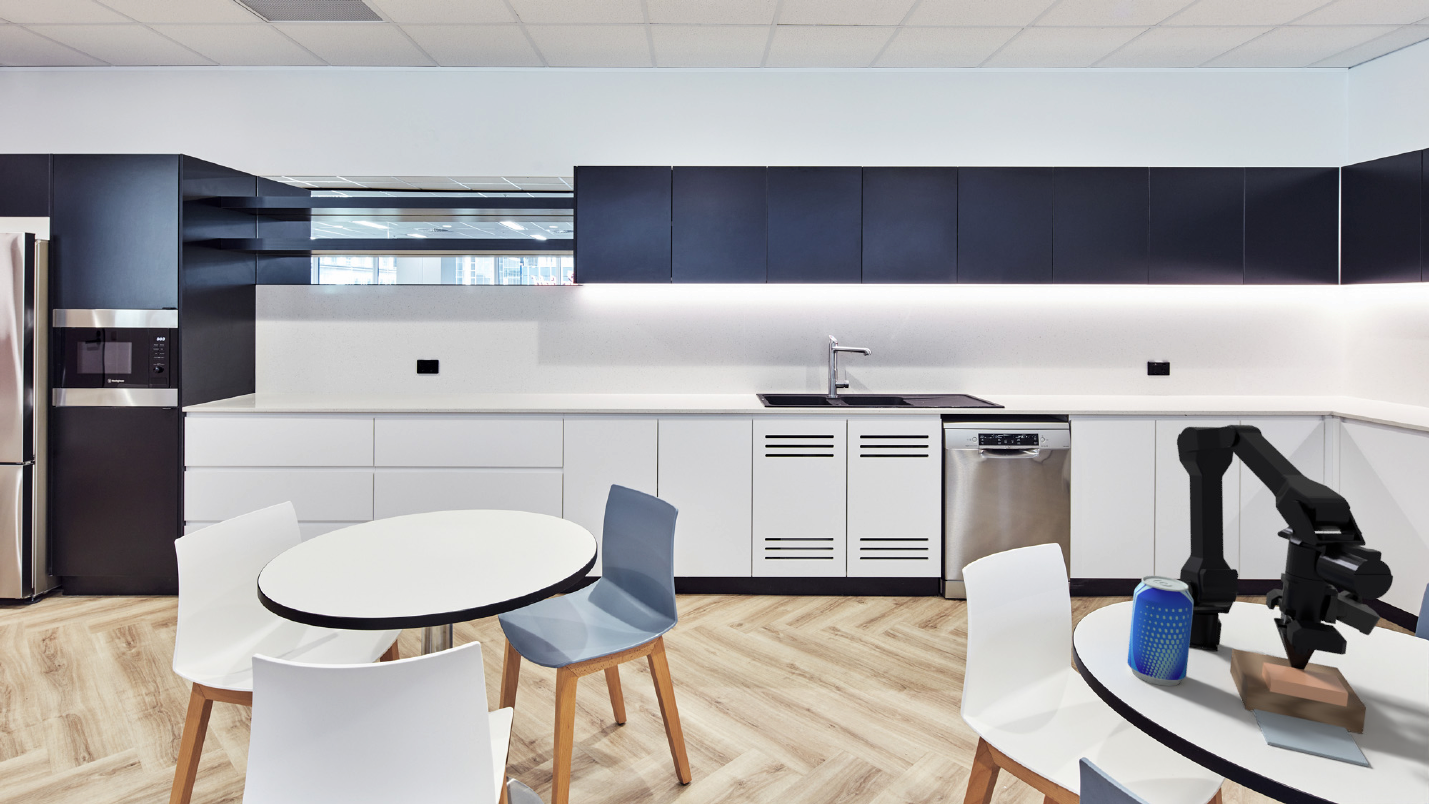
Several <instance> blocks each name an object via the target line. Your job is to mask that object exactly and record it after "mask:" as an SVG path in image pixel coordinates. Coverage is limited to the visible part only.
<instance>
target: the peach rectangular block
mask: <svg viewBox="0 0 1429 804" xmlns="http://www.w3.org/2000/svg"><path fill="white" fill-rule="evenodd" d="M1262 676H1263V678H1264V680H1265V682H1266V684H1267V686H1268V688H1269V690H1270V692H1275V693H1281V694H1286V695H1291V696H1296V697H1301V698H1306V699H1311V700H1316V701H1321V702H1326V703H1331V704H1336V705H1341V706H1346V707H1347V699H1348V692H1347V691H1346V689H1345V688H1344V686H1343V685H1342V683H1341V682H1340V681H1339V679H1338V678H1337V676H1334V675H1329V674H1324V673H1318V672H1313V671H1308V670H1302V669H1297V668H1291V667H1286V666H1281V665H1275V664H1270V663H1265V662H1263V670H1262Z"/></svg>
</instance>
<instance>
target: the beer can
mask: <svg viewBox="0 0 1429 804" xmlns="http://www.w3.org/2000/svg"><path fill="white" fill-rule="evenodd" d="M1193 605H1194V601H1193V598H1192V597H1191V595H1190V593H1189V591H1188V585H1187V584H1185V583H1184V582H1182V581H1180V579H1176V578H1172V577H1167V576H1161V575H1145V576H1143V577H1141V582H1140V583H1139V584H1138V585H1137V586H1136V587H1135V589H1134V591H1133V598H1132V609H1131V620H1130V630H1129V641H1128V655H1127V664H1128V666H1129V668H1130V669H1131V672H1132V674H1133V675H1134V676H1135V677H1137V678H1138V679H1140V680H1141V681H1144V682H1146V683H1150V684H1153V685H1156V686H1157V685H1158V686H1163V687H1164V686H1165V687H1172V686H1177V685H1178V684H1180V683H1181V681H1183V680H1184V679H1185V678H1186V677H1187V673H1188V661H1189V651H1190V646H1189V644H1190V634H1191V625H1192V615H1193Z"/></svg>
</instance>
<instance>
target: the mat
mask: <svg viewBox="0 0 1429 804" xmlns="http://www.w3.org/2000/svg"><path fill="white" fill-rule="evenodd" d="M1253 713H1254V716H1255V718H1256V721H1257V723H1258V725H1259V728H1260V730H1261V732H1262V733H1261V734H1263V737H1264V739H1265V742H1266V744H1267V745H1269V746H1275V747H1279V748H1282V749H1287V750H1292V751H1296V752H1300V753H1305V754H1310V755H1315V756H1319V757H1324V758H1327V759H1332V760H1336V761H1337V760H1338V761H1341V762H1345V763H1350V764H1354V765H1359V766H1363V767H1369V762H1368V761H1367V760H1366V757H1365V756H1364V754H1363V753H1362V751H1361V750H1360V748H1359V747H1358V745H1357V744H1356V742H1355V741H1354V739H1353V737H1352V736H1351V733H1349V732H1350V731H1347V729H1346V728H1344V727H1339V726H1335V725H1330V724H1325V723H1320V722H1315V721H1311V720H1306V719H1301V718H1296V717H1291V716H1286V715H1282V714H1277V713H1272V712H1267V711H1262V710H1257V709H1254V711H1253Z"/></svg>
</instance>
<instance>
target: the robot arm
mask: <svg viewBox="0 0 1429 804" xmlns="http://www.w3.org/2000/svg"><path fill="white" fill-rule="evenodd" d="M1176 445H1177V451H1178V452H1177V453H1178V461H1179V462H1180V464H1181V465H1182V466H1183V468H1184V470H1185V471H1186V473H1187V474H1188V475H1189V476H1188V477H1189V522H1190V524H1189V527H1190V528H1189V530H1190V555H1189V556H1188V558H1187V559H1186V561H1185V563H1184V564H1183V566H1182V567H1181V568H1180V574H1179V581H1182V582H1184V583H1185V584H1187V585H1188V591H1189V593H1190V595H1191V597H1192V598H1193V601H1194V605H1193V615H1192V625H1191V634H1190V644H1189V647H1192V648H1197V649H1202V650H1209V651H1212V652H1217V651H1218V646H1219V645H1220V641H1221V635H1222V634H1221V633H1222V625H1223V623H1222V621H1221V619H1220V618H1219V617H1220V615H1219V614H1225V615H1226V614H1229V613H1230V611H1231V609H1232V607H1233V605H1234V603H1235V602H1236V600H1237V596H1238V594H1239V593H1240V589H1239V582H1238V581H1239V573H1238V570H1237V569H1235V568H1231V567H1230V565H1229V563H1228V562H1227V561H1226V559H1225V556H1224V551H1225V550H1224V499H1223V498H1224V497H1223V496H1224V495H1223V477H1224V475H1225V474H1226V472H1227V470H1228V469H1229V468H1230V467H1231V464H1232V463H1233V458H1234V454H1235V456H1237V457H1238V459H1239V460H1240V461H1241V462H1242V463H1243V464H1244V465H1245V466H1246V467H1247V468H1248V469H1249V470H1250V471H1251V472H1252V473H1253V474H1254V475H1255V476H1256V477H1257V478H1258V479H1259V480H1260V481H1261V482H1262V483H1263V485H1265V487H1267V489H1268V490H1269V491H1271V494H1272V495H1273V496H1274V497H1275V508H1276V510H1277V512H1278V514H1280V516H1281V518H1283V520H1284V521H1285V523H1286V524H1287V526H1288V527H1286V528H1283V529H1281V530H1280V531H1278V532H1277V536H1278V537H1279V538H1282V539H1284V540H1288V543H1287V553H1286V560H1285V561H1286V562H1285V569H1284V572H1281V574H1280V580H1281V582H1282V583H1283V587H1282V589H1278V588H1274V589H1272V590H1270V591H1268V592H1266V598H1265V599H1266V600H1265V605H1266V607H1267V608H1268V609H1269V610H1273V611H1274V610H1275V608H1276V606H1278V610H1279V611H1280V618H1279V617H1274V618H1273V622H1274V624H1275V626H1276V629H1277V632H1278V634H1279V637H1280V640H1281V642H1282V646H1283V649H1284V652H1285V654H1286V657H1287V659H1288V660H1289V663H1290V666H1291V668H1297V669H1302V670H1304V669H1305V667H1306V665H1307V663H1308V662H1309V661H1310V660H1311V658H1312V656H1313V654H1314V652H1315V651H1319V652H1325V653H1331V654H1335V655H1345V654H1346V652H1347V651H1346V650H1347V645H1348V641H1347V639H1345V637H1344V636H1343V635H1342V634H1341V632H1340V631H1339V630H1338V629H1337V628H1336V627H1335V626H1334V625H1336V624H1337V623H1336V622H1337V621H1338V622H1339V623H1342V624H1344V625H1347V626H1349V627H1351V628H1353V629H1355V630H1358V631H1359V633H1361V634H1364V635H1366V636H1370V634H1371V633H1372V631H1373V630H1374V628H1376V626H1377V624H1378V622H1379V621H1380V620H1381V616H1380V615H1379V614H1378V613H1377V612H1376V610H1374V609H1373V608H1371V607H1369V606H1368V605H1367V604H1366V603H1365V604H1363V599H1365V600H1369V601H1371V600H1372V601H1373V600H1378V599H1379V598H1382V597H1383V596H1384V595H1386V594H1387V593H1388V591H1389V590H1390V589H1391V586H1393V585H1392V584H1393V580H1394V576H1393V575H1392V571H1391V568H1390V567H1389V565H1388V564H1387V563H1386V562H1384V561H1383V560H1382V553H1383V552H1381V551H1380V550H1377V549H1373V548H1367V547H1365V546H1366V541H1365V539H1364V536H1363V532H1362V530H1361V529H1360V527H1359V526H1358V523H1357V521H1356V519H1355V518H1354V515H1353V513H1352V511H1351V505H1350V504H1349V502H1348V501H1347V499H1346V498H1345V497H1344V496H1343V495H1341V494H1339V493H1338V492H1337V491H1335V490H1334V489H1332V488H1331V487H1329V486H1327V485H1324V484H1322V483H1319V482H1317V481H1315V480H1312V479H1310V478H1309V477H1307V476H1306V475H1304V474H1303V473H1302V472H1301V471H1300V470H1299V469H1297V467H1296V466H1294V464H1293V463H1291V462H1290V461H1289V460H1288V459H1287V458H1286V456H1285V455H1283V453H1281V452H1280V451H1279V450H1278V449H1277V448H1276V447H1275V446H1274V445H1273V444H1272V443H1270V441H1269V440H1268V439H1266V438H1265V437H1264V435H1263V433H1262V431H1261V429H1260V428H1258V427H1257V426H1254V425H1252V424H1229V425H1226V426H1225V425H1224V426H1221V427H1220V426H1217V427H1216V426H1187V427H1185V428H1184V429H1183V430H1182V431H1181V432H1180V433H1179V434H1178V436H1177V439H1176ZM1323 532H1324V533H1323ZM1327 532H1328V533H1327ZM1331 532H1332V533H1331ZM1335 532H1336V533H1335ZM1337 588H1338V589H1339V590H1343V591H1341V592H1339V591H1338V589H1337ZM1323 622H1325V623H1323ZM1309 663H1310V662H1309Z"/></svg>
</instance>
